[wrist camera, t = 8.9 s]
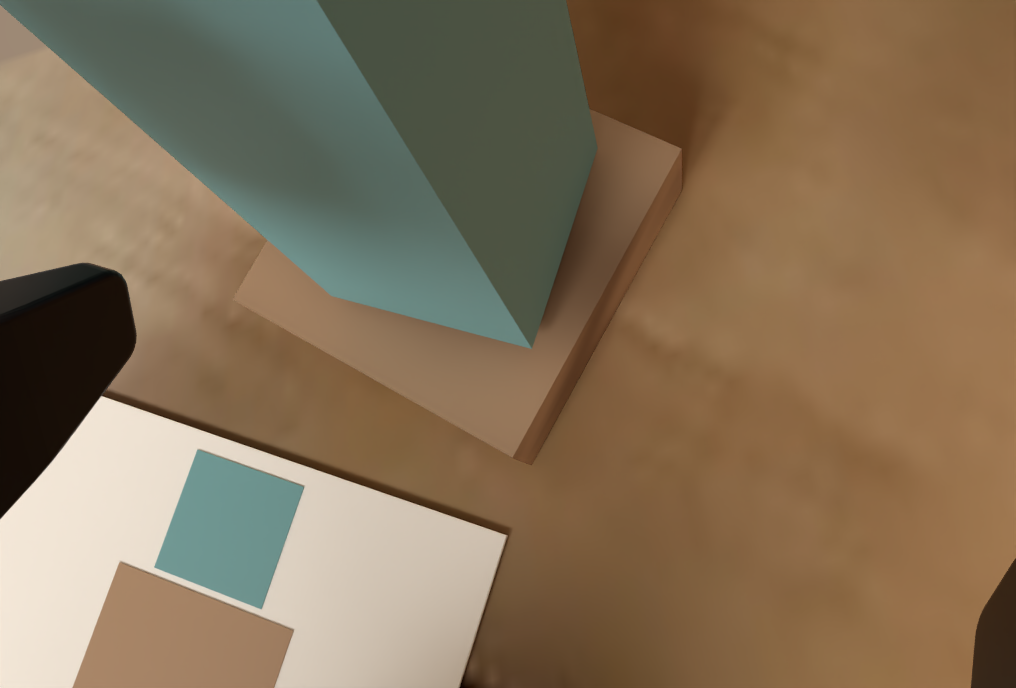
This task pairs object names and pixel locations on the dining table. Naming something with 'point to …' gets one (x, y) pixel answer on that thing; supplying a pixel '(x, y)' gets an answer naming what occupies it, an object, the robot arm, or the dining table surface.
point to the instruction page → (228, 570)
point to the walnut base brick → (485, 361)
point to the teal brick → (364, 135)
